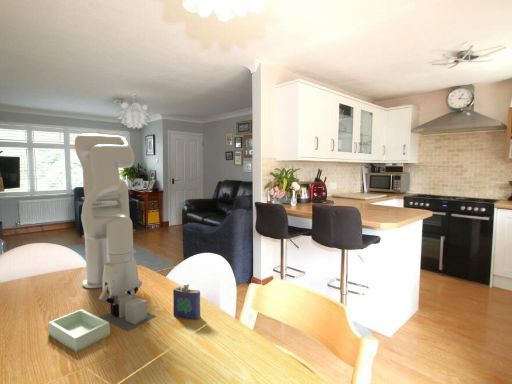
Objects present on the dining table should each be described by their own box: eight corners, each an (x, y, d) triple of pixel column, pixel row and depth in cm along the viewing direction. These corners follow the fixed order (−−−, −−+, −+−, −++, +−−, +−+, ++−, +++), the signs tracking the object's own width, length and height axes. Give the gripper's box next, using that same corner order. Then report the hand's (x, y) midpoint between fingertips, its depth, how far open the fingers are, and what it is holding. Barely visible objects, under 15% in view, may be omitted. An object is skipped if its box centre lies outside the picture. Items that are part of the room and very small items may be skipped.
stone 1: (124, 308, 97) (124, 292, 97) (133, 311, 95) (132, 295, 95) (112, 314, 94) (111, 297, 93) (120, 317, 91) (119, 301, 91)
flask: (201, 317, 92) (201, 284, 92) (197, 322, 90) (197, 288, 89) (176, 313, 95) (175, 281, 94) (171, 317, 92) (170, 284, 91)
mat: (127, 305, 100) (127, 304, 100) (156, 317, 92) (156, 316, 92) (99, 317, 92) (99, 316, 92) (128, 332, 84) (128, 331, 84)
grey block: (138, 313, 94) (137, 297, 93) (147, 317, 91) (146, 300, 91) (125, 320, 90) (124, 302, 89) (134, 324, 88) (133, 306, 87)
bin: (82, 321, 90) (81, 308, 89) (109, 336, 82) (109, 322, 82) (49, 335, 82) (48, 322, 82) (76, 353, 74) (75, 338, 74)
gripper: (136, 249, 102) (138, 299, 103) (87, 262, 88) (90, 320, 89) (150, 252, 98) (152, 304, 99) (101, 266, 84) (104, 327, 85)
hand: (122, 311), depth 94 cm, fingers closed on stone 1, 4 cm apart
